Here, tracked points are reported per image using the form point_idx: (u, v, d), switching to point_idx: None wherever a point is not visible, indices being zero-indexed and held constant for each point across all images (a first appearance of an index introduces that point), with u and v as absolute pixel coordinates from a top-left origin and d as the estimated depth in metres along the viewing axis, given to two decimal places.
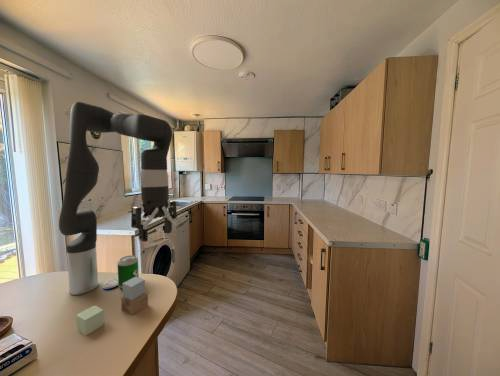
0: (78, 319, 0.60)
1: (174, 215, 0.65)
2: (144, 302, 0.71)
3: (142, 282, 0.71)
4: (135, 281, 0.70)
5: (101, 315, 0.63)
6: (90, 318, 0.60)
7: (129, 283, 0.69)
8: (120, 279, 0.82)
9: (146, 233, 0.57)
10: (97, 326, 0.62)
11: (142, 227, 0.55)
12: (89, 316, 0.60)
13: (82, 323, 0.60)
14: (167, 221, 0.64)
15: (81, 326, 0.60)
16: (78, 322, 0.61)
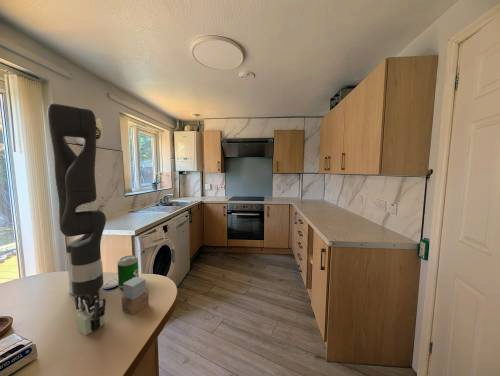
0: (78, 319, 0.60)
1: None
2: (145, 302, 0.72)
3: (143, 282, 0.71)
4: (135, 281, 0.71)
5: None
6: None
7: (130, 283, 0.69)
8: (120, 279, 0.82)
9: None
10: None
11: None
12: (89, 316, 0.60)
13: (82, 322, 0.60)
14: None
15: (81, 326, 0.60)
16: (78, 322, 0.61)
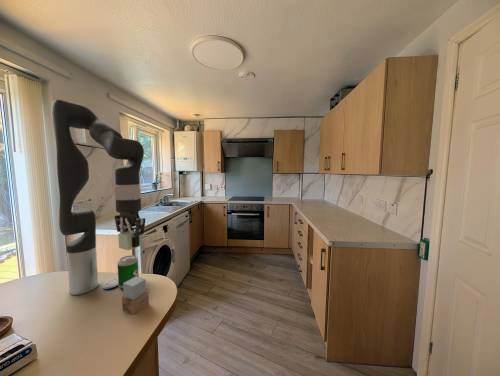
0: (120, 237, 0.67)
1: None
2: (145, 302, 0.72)
3: (143, 281, 0.71)
4: (135, 281, 0.71)
5: (139, 236, 0.69)
6: (131, 235, 0.67)
7: (130, 283, 0.70)
8: (120, 279, 0.82)
9: None
10: None
11: None
12: (130, 234, 0.67)
13: (124, 239, 0.66)
14: None
15: (123, 243, 0.66)
16: (120, 240, 0.67)
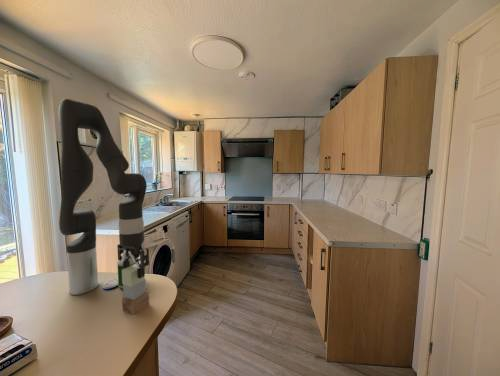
0: (123, 273, 0.68)
1: None
2: (145, 302, 0.72)
3: (143, 282, 0.71)
4: None
5: None
6: (134, 272, 0.68)
7: None
8: (120, 279, 0.82)
9: None
10: (139, 280, 0.70)
11: None
12: (133, 270, 0.68)
13: (127, 276, 0.68)
14: (127, 261, 0.72)
15: (127, 279, 0.68)
16: (123, 276, 0.69)
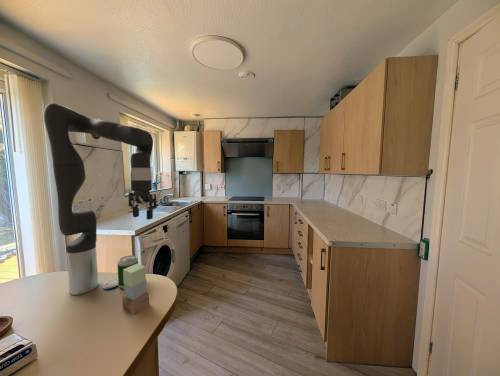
0: (125, 273, 0.69)
1: None
2: (145, 302, 0.72)
3: (144, 282, 0.71)
4: None
5: (143, 271, 0.71)
6: (135, 272, 0.68)
7: None
8: (120, 279, 0.82)
9: None
10: (140, 280, 0.70)
11: None
12: (134, 270, 0.68)
13: (128, 276, 0.68)
14: (136, 207, 0.83)
15: (128, 279, 0.68)
16: (125, 276, 0.69)
